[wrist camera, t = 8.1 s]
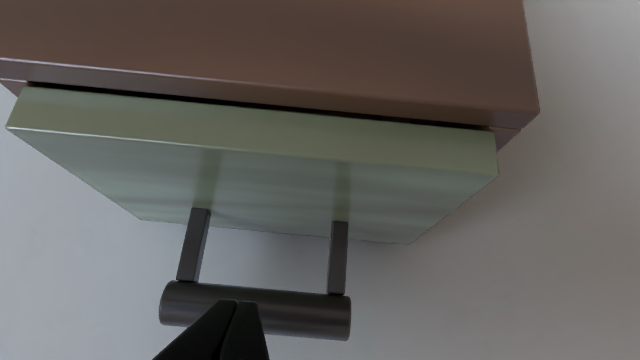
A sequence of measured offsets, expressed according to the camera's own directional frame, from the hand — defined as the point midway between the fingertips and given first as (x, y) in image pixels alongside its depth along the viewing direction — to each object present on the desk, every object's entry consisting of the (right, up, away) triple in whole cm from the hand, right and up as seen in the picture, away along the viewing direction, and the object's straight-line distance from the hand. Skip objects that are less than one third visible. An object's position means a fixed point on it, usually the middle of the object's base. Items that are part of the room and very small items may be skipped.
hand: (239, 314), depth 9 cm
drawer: (0, +5, +9) cm, 10 cm away
